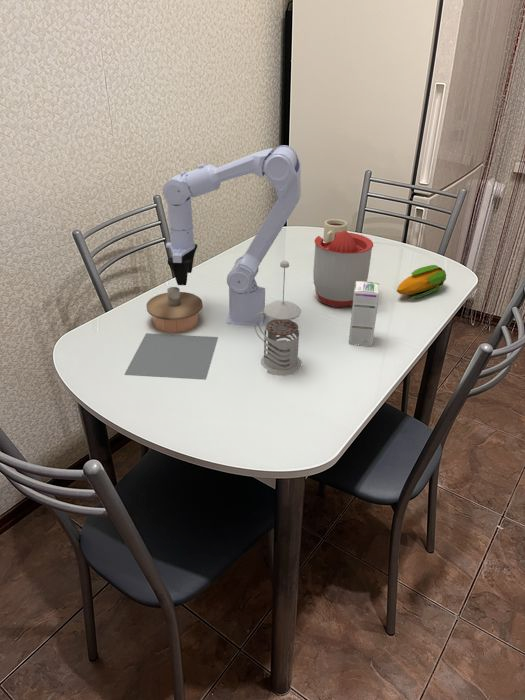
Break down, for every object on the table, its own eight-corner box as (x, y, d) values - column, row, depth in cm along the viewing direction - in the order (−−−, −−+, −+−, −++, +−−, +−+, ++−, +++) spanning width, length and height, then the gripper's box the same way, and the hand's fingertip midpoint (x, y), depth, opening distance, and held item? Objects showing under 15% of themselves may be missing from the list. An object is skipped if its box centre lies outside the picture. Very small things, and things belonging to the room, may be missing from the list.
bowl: (201, 313, 139) (200, 297, 136) (193, 334, 129) (192, 318, 127) (160, 310, 139) (158, 295, 137) (149, 331, 130) (147, 316, 127)
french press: (288, 380, 113) (294, 274, 100) (244, 364, 118) (244, 261, 105) (309, 359, 120) (317, 258, 107) (266, 345, 125) (269, 246, 112)
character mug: (335, 268, 165) (339, 229, 158) (315, 264, 168) (318, 224, 161) (349, 258, 173) (353, 219, 166) (329, 253, 176) (333, 216, 169)
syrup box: (372, 347, 125) (380, 292, 118) (347, 344, 126) (354, 290, 119) (372, 335, 130) (380, 282, 122) (349, 332, 131) (355, 280, 123)
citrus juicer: (337, 280, 158) (344, 216, 147) (377, 303, 145) (387, 234, 135) (295, 292, 150) (299, 225, 140) (333, 316, 138) (341, 245, 127)
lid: (207, 296, 137) (206, 279, 135) (196, 321, 125) (195, 303, 123) (155, 293, 138) (153, 276, 136) (139, 318, 126) (137, 300, 124)
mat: (218, 338, 128) (218, 337, 127) (205, 380, 112) (205, 379, 112) (146, 334, 129) (146, 333, 128) (124, 376, 113) (124, 374, 113)
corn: (455, 264, 150) (411, 281, 140) (451, 289, 154) (408, 307, 143) (433, 258, 155) (389, 274, 145) (430, 282, 159) (387, 299, 148)
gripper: (171, 217, 133) (175, 266, 140) (158, 236, 120) (163, 289, 128) (198, 218, 132) (201, 267, 140) (188, 237, 120) (191, 291, 127)
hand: (184, 278), depth 134 cm, fingers open, 7 cm apart
